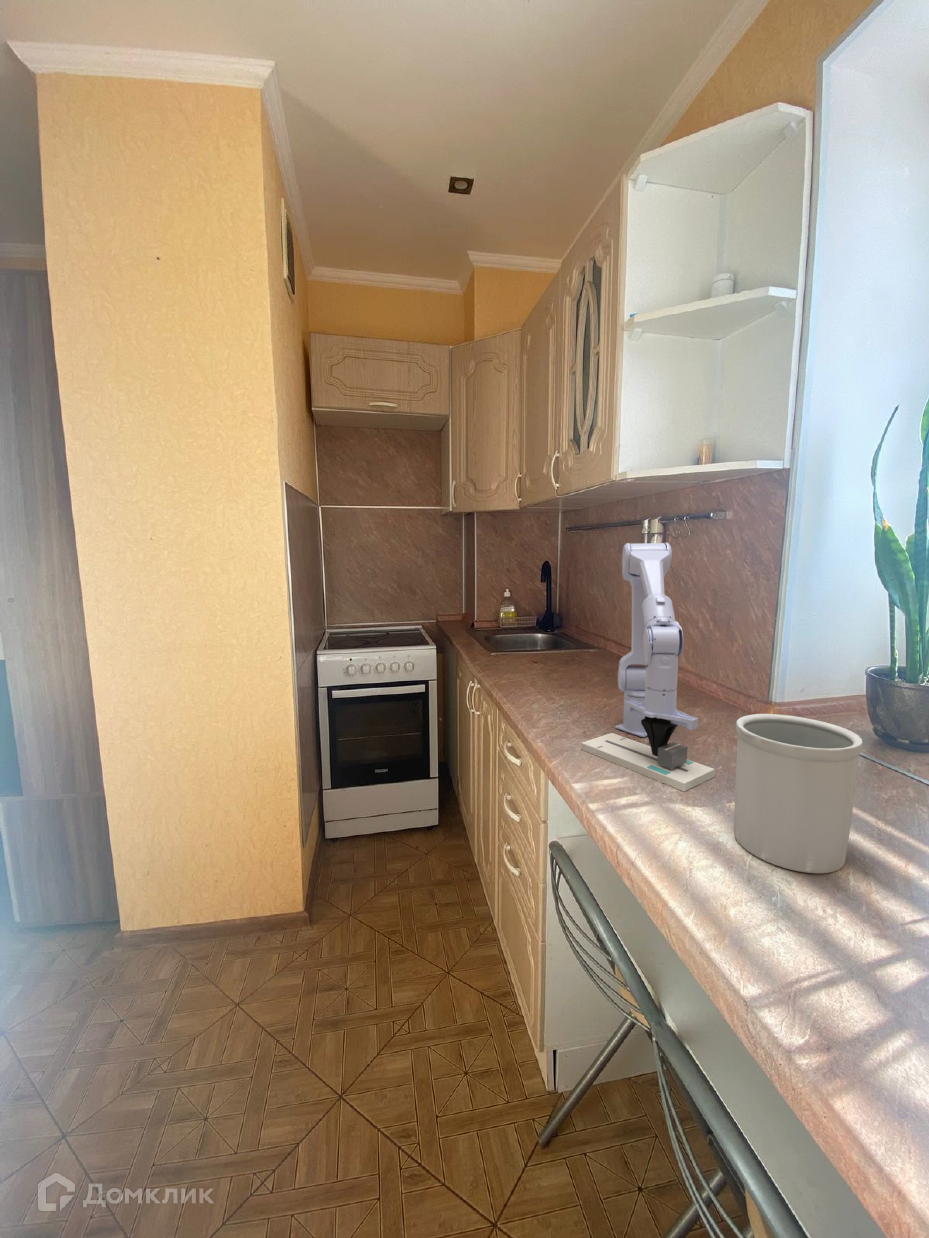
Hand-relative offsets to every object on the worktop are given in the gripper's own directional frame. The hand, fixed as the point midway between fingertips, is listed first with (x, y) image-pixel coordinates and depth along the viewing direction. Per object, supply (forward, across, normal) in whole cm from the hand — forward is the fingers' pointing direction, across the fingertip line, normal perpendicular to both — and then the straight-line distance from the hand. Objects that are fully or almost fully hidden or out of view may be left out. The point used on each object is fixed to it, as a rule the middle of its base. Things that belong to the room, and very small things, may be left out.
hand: (658, 754), depth 100 cm
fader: (+1, +3, 0) cm, 3 cm away
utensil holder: (+3, +27, -8) cm, 28 cm away
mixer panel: (+3, -3, 0) cm, 4 cm away
